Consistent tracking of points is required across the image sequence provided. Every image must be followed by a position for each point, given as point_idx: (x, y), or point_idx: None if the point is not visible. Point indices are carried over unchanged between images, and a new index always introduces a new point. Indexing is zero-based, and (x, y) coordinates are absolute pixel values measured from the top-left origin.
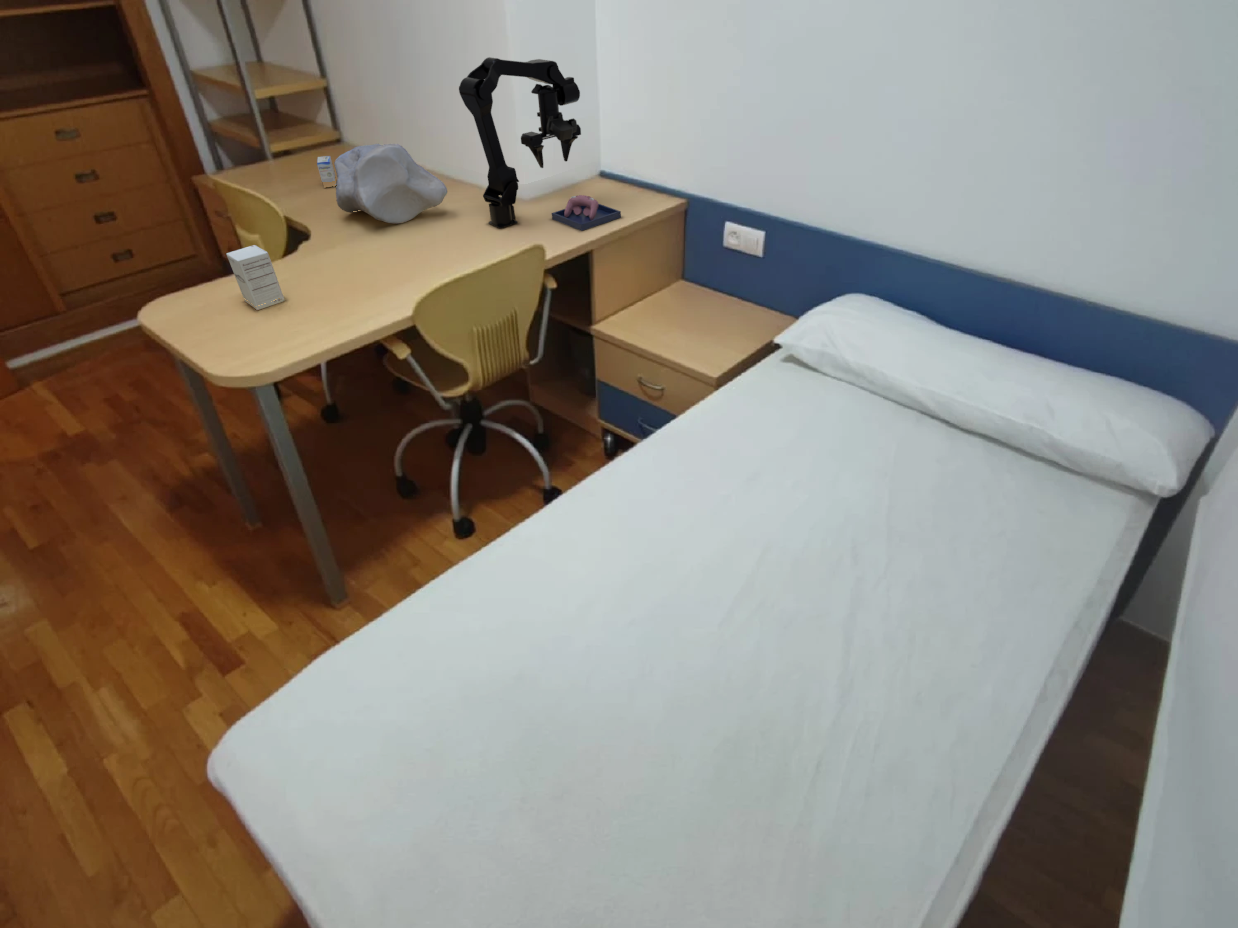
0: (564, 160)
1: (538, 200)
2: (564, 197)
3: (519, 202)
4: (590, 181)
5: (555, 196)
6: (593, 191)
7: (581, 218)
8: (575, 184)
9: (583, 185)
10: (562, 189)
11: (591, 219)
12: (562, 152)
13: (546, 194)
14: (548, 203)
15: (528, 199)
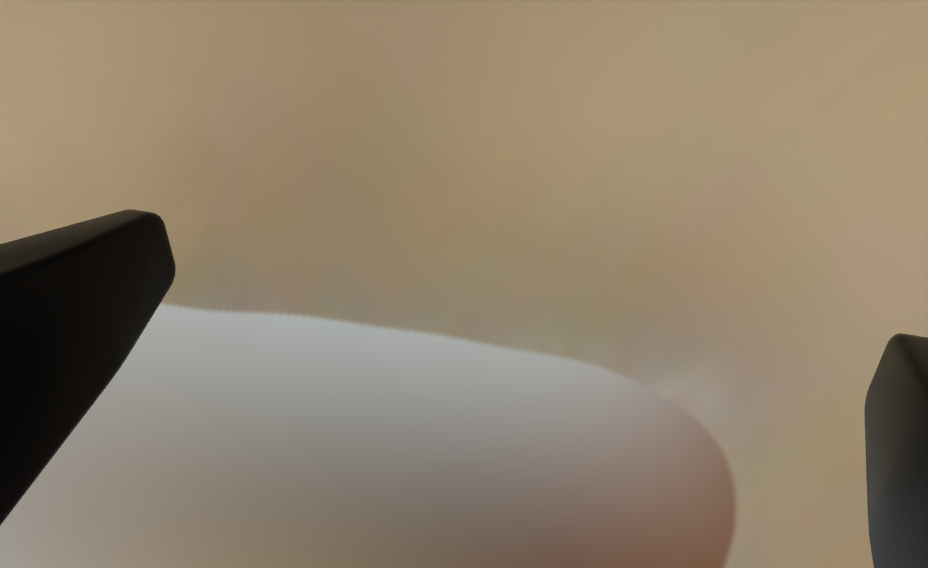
0: (167, 276)
1: (645, 292)
2: (405, 142)
3: (808, 401)
4: None
5: (450, 236)
6: (91, 33)
7: None
8: None
9: None
10: (294, 307)
11: None
12: (65, 432)
13: (473, 336)
14: (653, 143)
15: (682, 383)
